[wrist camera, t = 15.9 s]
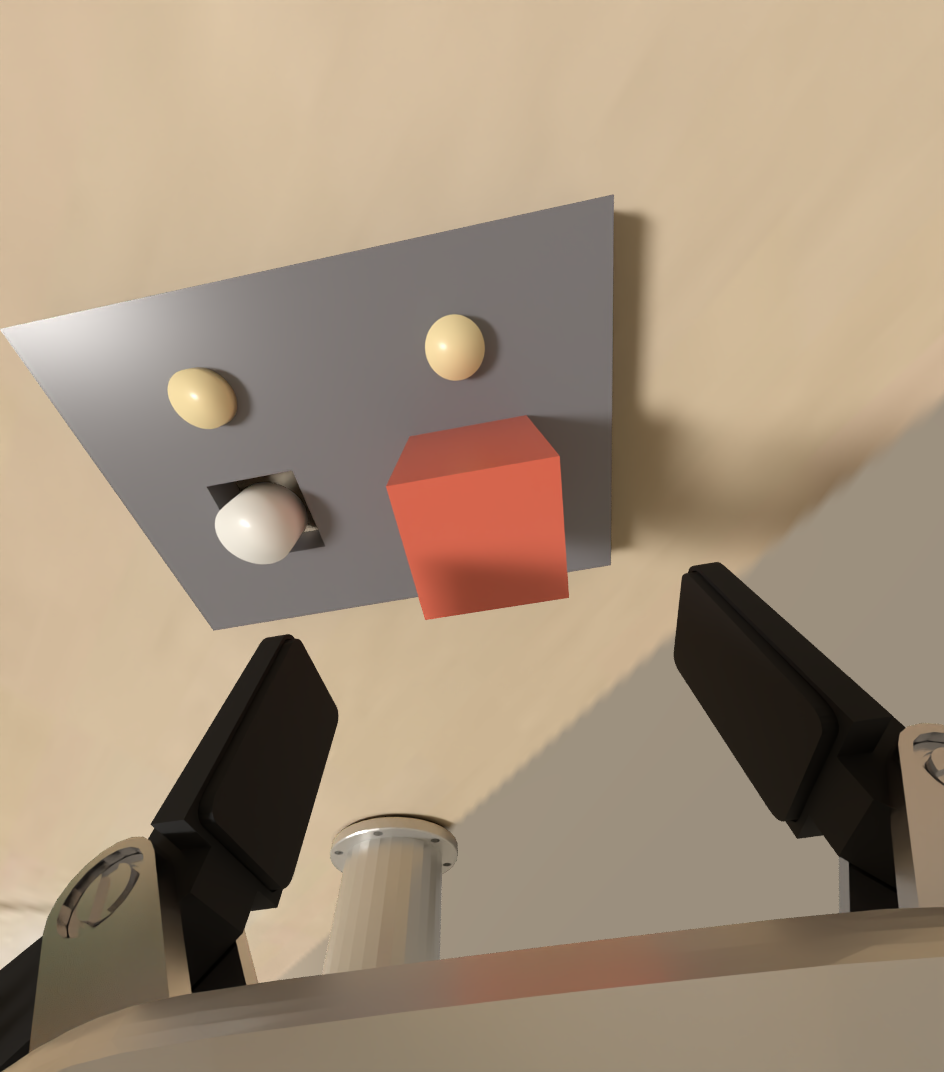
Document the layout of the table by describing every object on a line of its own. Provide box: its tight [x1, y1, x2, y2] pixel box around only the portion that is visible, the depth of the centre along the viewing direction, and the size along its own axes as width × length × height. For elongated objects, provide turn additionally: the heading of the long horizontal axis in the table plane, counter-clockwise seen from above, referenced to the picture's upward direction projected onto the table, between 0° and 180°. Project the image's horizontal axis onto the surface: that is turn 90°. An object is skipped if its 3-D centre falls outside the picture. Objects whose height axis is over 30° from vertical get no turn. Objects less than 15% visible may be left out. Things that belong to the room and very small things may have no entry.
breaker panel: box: [0, 195, 614, 631], centre depth 18 cm, size 15×22×3 cm
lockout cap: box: [386, 415, 569, 620], centre depth 15 cm, size 5×5×6 cm
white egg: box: [215, 482, 308, 564], centre depth 18 cm, size 3×3×2 cm
